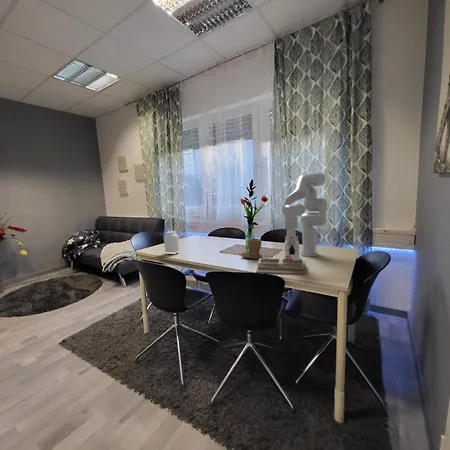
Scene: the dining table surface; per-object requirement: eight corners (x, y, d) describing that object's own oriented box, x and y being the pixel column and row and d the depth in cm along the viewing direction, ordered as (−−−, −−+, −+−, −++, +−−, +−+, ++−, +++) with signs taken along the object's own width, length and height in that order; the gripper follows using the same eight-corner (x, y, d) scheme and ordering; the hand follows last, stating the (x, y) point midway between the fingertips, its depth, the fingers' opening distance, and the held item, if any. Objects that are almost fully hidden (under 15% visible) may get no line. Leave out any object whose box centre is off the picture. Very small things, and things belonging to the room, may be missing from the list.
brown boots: (265, 256, 184) (264, 237, 182) (257, 260, 174) (256, 240, 172) (248, 254, 193) (247, 236, 191) (240, 258, 183) (239, 239, 181)
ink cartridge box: (285, 260, 152) (284, 237, 149) (285, 258, 156) (284, 236, 154) (299, 260, 150) (298, 237, 147) (298, 258, 154) (298, 236, 152)
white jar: (180, 254, 209) (177, 231, 206) (165, 256, 206) (163, 233, 203) (179, 251, 221) (177, 229, 218) (165, 252, 218) (163, 231, 215)
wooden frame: (260, 261, 171) (259, 255, 171) (304, 262, 163) (303, 255, 163) (255, 273, 148) (255, 266, 148) (306, 274, 140) (306, 267, 140)
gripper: (285, 223, 159) (286, 249, 161) (284, 227, 143) (285, 256, 145) (297, 223, 157) (297, 249, 160) (298, 227, 141) (298, 256, 143)
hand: (292, 252), depth 152 cm, fingers closed on ink cartridge box, 5 cm apart
